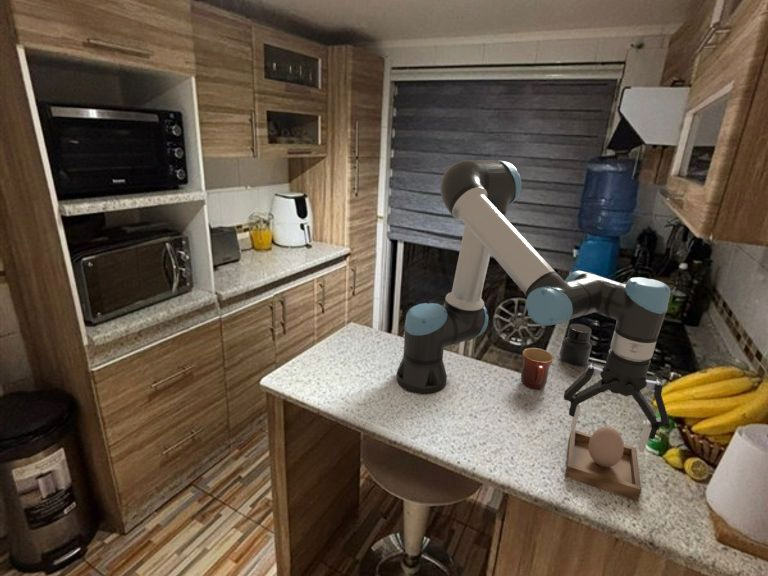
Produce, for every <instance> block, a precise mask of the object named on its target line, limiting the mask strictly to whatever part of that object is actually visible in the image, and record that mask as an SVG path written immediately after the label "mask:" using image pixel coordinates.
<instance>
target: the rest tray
mask: <svg viewBox="0 0 768 576" xmlns="http://www.w3.org/2000/svg"><path fill="white" fill-rule="evenodd" d="M591 436H592V434H589V433H587V432H582V431H579V430H577V429H575V431H574V432H573V431H571V430H570V433H569V438H568V444H567V454H566V455H567V456H566V465H565V474H564V477H565V478H567V479H570V480H573V481H576V482H578V483H582V484H584V485H587V486H591V487H594V488H596V489H600V490H602V491H603V490H604V491H606V492H609V493H612V494H614V495H617V496H621V497H623V498H627V499H629V500H633V501H637V502H639V499H640V497H641V493H642V484H641V477H640V467H639V460H638V453H637V452H638V451H637V447H634V446H632V445H627V444H624V443H623V446H624V449H623V455H622V458H621V460H620V461H619V462H618V463H617V464H615V465H614V466H610V467H603V466H600V465H598V464H597V463H596V462H595V461H594V460H593V459H592V457H591V456H590V453H589V447H588V445H589V440H590V438H591Z"/></svg>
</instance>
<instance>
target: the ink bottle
mask: <svg viewBox="0 0 768 576" xmlns="http://www.w3.org/2000/svg"><path fill="white" fill-rule="evenodd" d="M591 335H592V328H591V327H589V326H587V325H585V324H581V323H571V324H570V325H568V330H567V337H566V336H565V338H563V340H562V343H561V349H560V354H559V358H560V359H561V360H562V361H563V362H565V363H566V364H569V365H573V366H579V367H581V366H582V367H583V366H585V365H588V364H589V359H590V355H591V350H592V344H591V342H590V339H591Z"/></svg>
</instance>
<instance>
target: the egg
mask: <svg viewBox="0 0 768 576" xmlns="http://www.w3.org/2000/svg"><path fill="white" fill-rule="evenodd" d="M591 435H592V436H591V438H590V440H589V445H588V447H589V453H590V456H591V457H592V459H593V460H594V461H595V462H596V463H597V464H598V465H600V466H603V467H610V466H614V465H615V464H617V463H618V462H619V461H620V460H621V458H622V455H623V449H624V446H623V444H624V442H623V438H622V435H621V434H620V432H619V431H618V430H617V429H616V428H614V427H612V426H609V425H604V426H600V427H598V429H596V430H595V431H594V432H593V433H592V434H591Z"/></svg>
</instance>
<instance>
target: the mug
mask: <svg viewBox="0 0 768 576" xmlns="http://www.w3.org/2000/svg"><path fill="white" fill-rule="evenodd" d="M522 359H523V365H522V370H521V372H520V373H521V374H520V382H521V384H522V385H523V386H524V387H525V388H527V389H529V390H532V391H540V390H543V389H544V388H545V387H546V385H547V383H548V376H549V370H550V366H551V365H552V364H553V362H554V360H555V358H554V355H553V354H552V353H551V352H549V351H547V350H545V349H542V348H537V347H528V348H524V350H522Z"/></svg>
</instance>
